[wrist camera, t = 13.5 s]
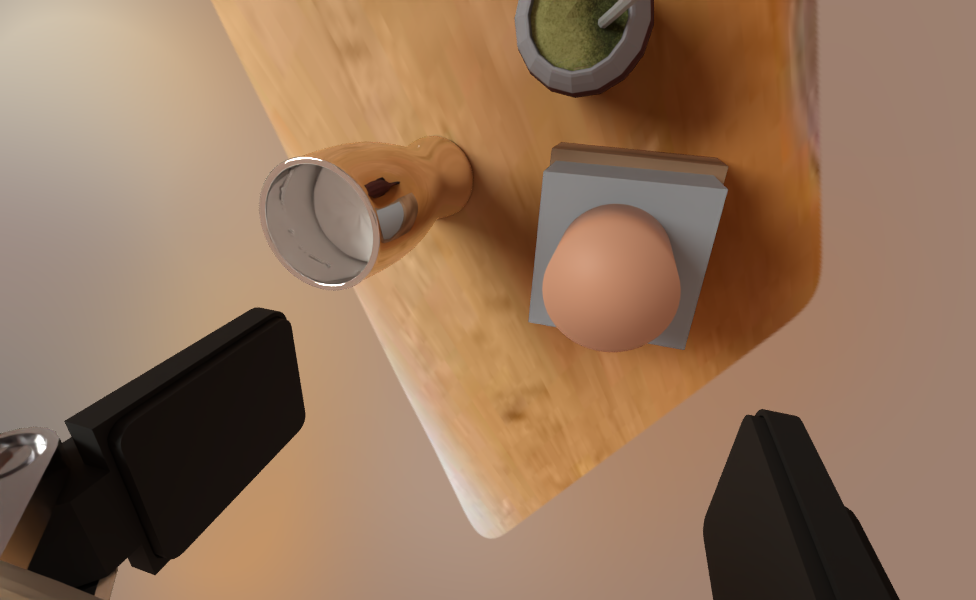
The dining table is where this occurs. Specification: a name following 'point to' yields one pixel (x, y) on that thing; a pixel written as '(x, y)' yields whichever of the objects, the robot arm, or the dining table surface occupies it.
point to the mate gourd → (582, 41)
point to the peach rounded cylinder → (612, 279)
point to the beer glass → (360, 206)
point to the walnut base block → (638, 159)
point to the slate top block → (663, 194)
